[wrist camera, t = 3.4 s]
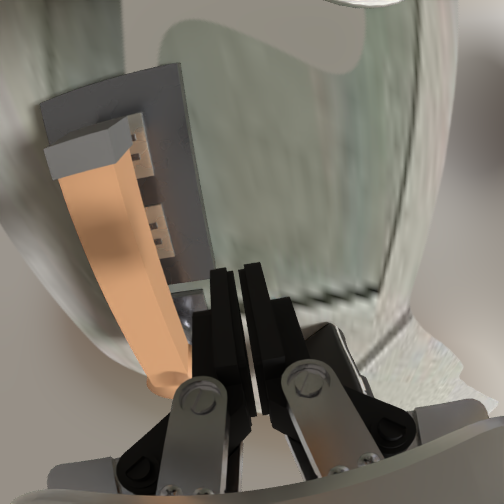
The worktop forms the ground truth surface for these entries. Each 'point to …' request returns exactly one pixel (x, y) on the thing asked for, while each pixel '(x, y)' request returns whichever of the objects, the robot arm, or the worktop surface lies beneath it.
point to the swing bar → (122, 247)
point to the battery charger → (337, 357)
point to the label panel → (150, 158)
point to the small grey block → (188, 308)
